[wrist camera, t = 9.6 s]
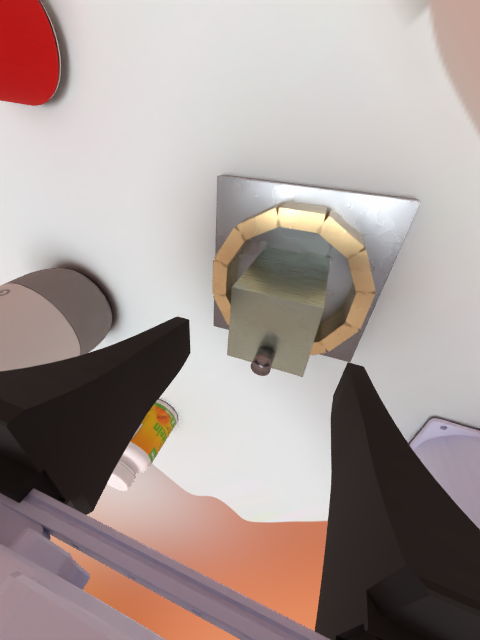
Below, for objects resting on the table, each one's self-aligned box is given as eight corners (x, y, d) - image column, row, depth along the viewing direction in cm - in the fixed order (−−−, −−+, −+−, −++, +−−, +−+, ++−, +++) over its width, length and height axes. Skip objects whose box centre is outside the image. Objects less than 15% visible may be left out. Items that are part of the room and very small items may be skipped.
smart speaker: (66, 323, 32) (-78, 411, 21) (39, 253, 27) (-170, 320, 16) (129, 342, 30) (5, 451, 19) (112, 269, 25) (-71, 360, 14)
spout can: (329, 258, 17) (322, 322, 10) (313, 313, 19) (299, 393, 13) (265, 246, 18) (222, 298, 11) (258, 300, 20) (219, 368, 14)
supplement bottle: (184, 425, 36) (141, 499, 28) (154, 422, 38) (107, 489, 31) (169, 398, 34) (118, 470, 26) (138, 396, 36) (83, 462, 28)
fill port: (416, 199, 15) (433, 209, 12) (349, 354, 21) (351, 384, 19) (223, 175, 17) (200, 178, 15) (217, 320, 24) (201, 341, 21)
